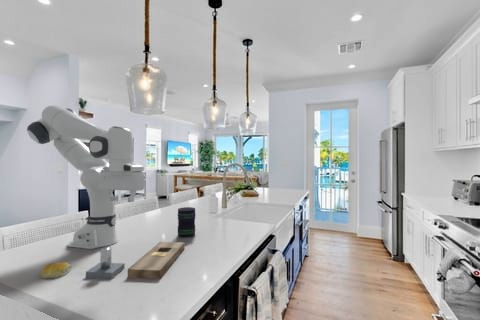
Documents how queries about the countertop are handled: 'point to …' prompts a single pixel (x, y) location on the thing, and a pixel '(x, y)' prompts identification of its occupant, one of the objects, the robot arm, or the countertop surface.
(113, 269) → the plate
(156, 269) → the walnut rail
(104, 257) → the metal peg
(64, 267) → the bread roll
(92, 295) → the countertop surface
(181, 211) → the storage jar
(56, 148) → the robot arm
